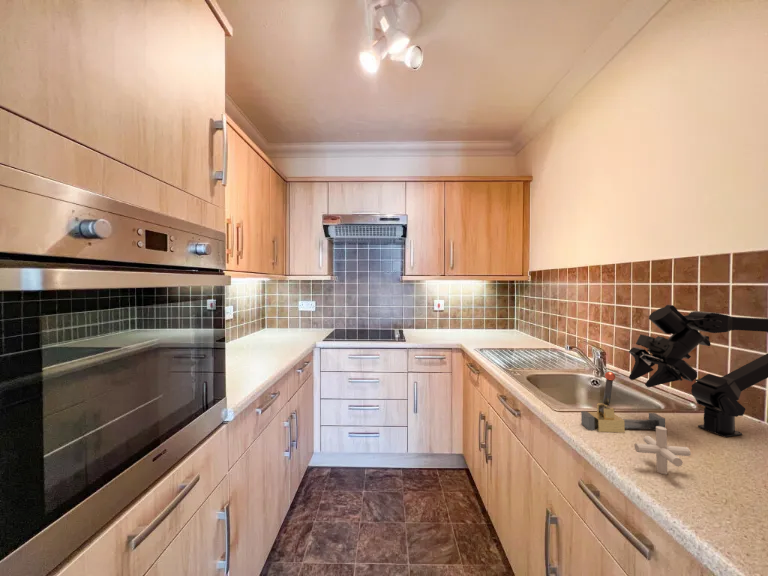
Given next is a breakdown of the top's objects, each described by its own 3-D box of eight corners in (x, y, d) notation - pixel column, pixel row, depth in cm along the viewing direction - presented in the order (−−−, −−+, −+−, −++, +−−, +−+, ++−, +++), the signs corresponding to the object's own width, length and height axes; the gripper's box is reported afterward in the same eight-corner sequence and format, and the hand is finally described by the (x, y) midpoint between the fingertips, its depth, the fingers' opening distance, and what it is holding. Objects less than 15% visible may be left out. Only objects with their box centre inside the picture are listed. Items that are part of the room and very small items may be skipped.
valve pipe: (652, 425, 93) (652, 403, 93) (667, 433, 88) (667, 411, 88) (580, 423, 96) (579, 402, 96) (590, 431, 90) (589, 409, 90)
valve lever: (606, 413, 93) (612, 371, 93) (612, 417, 91) (618, 373, 90) (597, 412, 94) (603, 370, 93) (602, 416, 91) (608, 372, 91)
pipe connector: (706, 488, 64) (705, 440, 64) (650, 483, 66) (650, 436, 66) (671, 461, 74) (671, 420, 74) (624, 457, 76) (623, 417, 76)
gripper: (634, 322, 100) (598, 355, 101) (684, 330, 81) (639, 371, 82) (661, 346, 99) (624, 380, 100) (718, 360, 80) (672, 401, 82)
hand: (638, 382), depth 91 cm, fingers open, 6 cm apart
